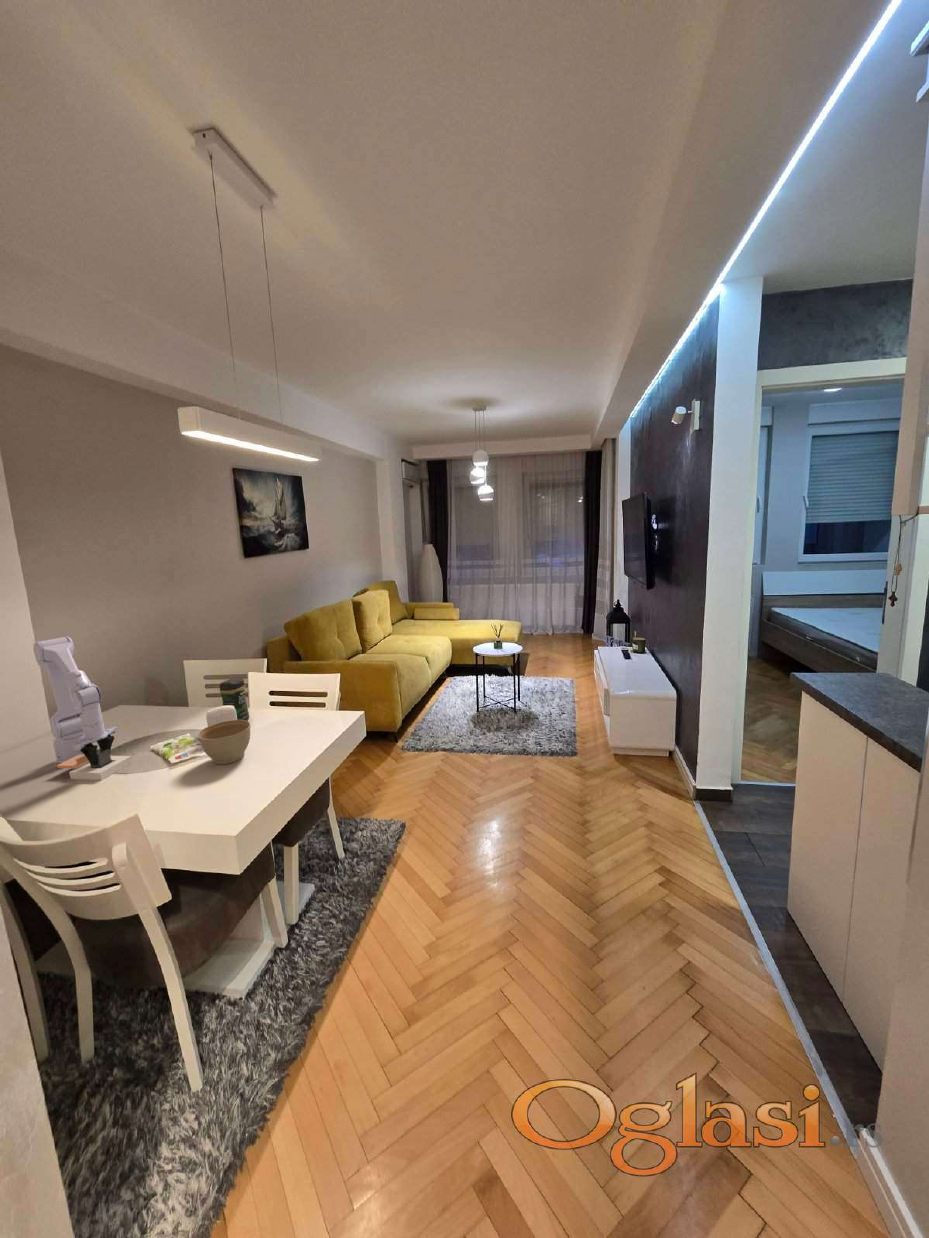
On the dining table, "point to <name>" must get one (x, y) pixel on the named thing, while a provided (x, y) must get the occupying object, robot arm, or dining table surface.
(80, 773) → the socket
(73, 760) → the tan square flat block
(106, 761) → the grey block
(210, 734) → the planter bowl
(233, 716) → the white rounded block
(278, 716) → the dining table surface
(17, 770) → the dining table surface
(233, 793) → the dining table surface
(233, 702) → the coffee jar
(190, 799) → the dining table surface
